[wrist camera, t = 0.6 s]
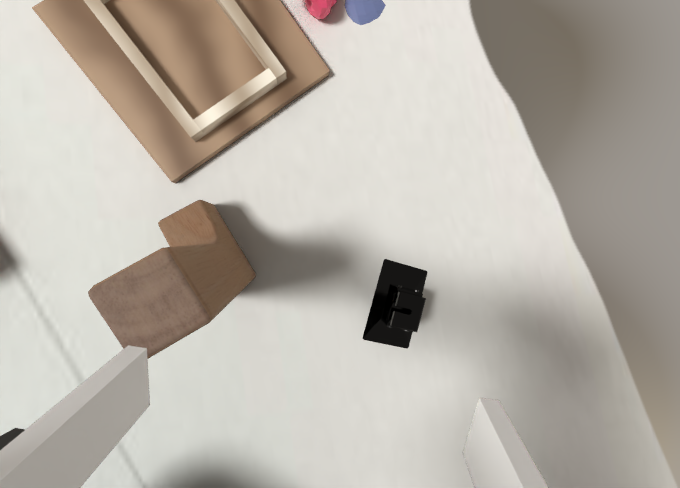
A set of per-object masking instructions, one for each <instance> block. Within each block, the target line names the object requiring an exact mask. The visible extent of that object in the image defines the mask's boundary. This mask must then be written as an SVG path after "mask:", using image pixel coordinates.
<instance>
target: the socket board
mask: <svg viewBox="0 0 680 488" xmlns="http://www.w3.org/2000/svg"><path fill="white" fill-rule="evenodd" d="M32 9H33V10H34V11H35V12H36V14H37V15H38V16H39V17H40V19H41V20H42V21H43V22H44V24H45V25H46V26H47V27H48V28H49V30H50V31H51V32H52V33H53V35H54V36H55V37H56V38H57V40H58V41H59V42H60V43H61V45H62V46H63V47H64V48H65V50H66V51H67V52H68V53H69V55H70V56H71V57H72V58H73V60H74V61H75V62H76V63H77V65H78V66H79V67H80V68H81V70H82V71H83V72H84V73H85V75H86V76H87V77H88V78H89V80H90V81H91V82H92V83H93V85H94V86H95V87H96V88H97V90H98V91H99V92H100V93H101V95H102V96H103V97H104V98H105V99H106V101H107V102H108V103H109V104H110V106H111V107H112V108H113V109H114V111H115V112H116V113H117V114H118V116H119V117H120V118H121V119H122V121H123V122H124V123H125V124H126V126H127V127H128V128H129V129H130V131H131V132H132V133H133V134H134V136H135V137H136V138H137V139H138V141H139V142H140V143H141V144H142V146H143V147H144V148H145V149H146V151H147V152H148V153H149V154H150V156H151V157H152V158H153V159H154V161H155V162H156V163H157V164H158V165H159V167H160V168H161V169H162V170H163V172H164V173H165V174H166V175H167V177H168V178H169V179H170V180H171V182H173V183H177V182H178V181H179V180H181V179H182V178H184V177H185V176H187V175H188V174H189V173H191V172H192V171H194V170H195V169H196V168H198V167H199V166H201V165H202V164H204V163H205V162H206V161H208V160H209V159H211V158H212V157H214V156H215V155H216V154H218V153H219V152H221V151H222V150H223V149H225V148H226V147H228V146H229V145H231V144H232V143H233V142H235V141H236V140H238V139H239V138H241V137H242V136H243V135H245V134H246V133H248V132H249V131H250V130H252V129H253V128H255V127H256V126H258V125H259V124H260V123H262V122H263V121H265V120H266V119H268V118H269V117H270V116H272V115H273V114H275V113H276V112H277V111H279V110H280V109H282V108H283V107H285V106H286V105H287V104H289V103H290V102H292V101H293V100H295V99H296V98H297V97H299V96H300V95H302V94H303V93H304V92H306V91H307V90H309V89H310V88H312V87H313V86H314V85H316V84H317V83H319V82H320V81H322V80H323V79H324V78H326V77H327V76H329V72H330V70H329V69H328V67H327V66H326V65H325V63H324V62H323V60H322V59H321V58H320V56H319V55H318V53H317V52H316V51H315V49H314V48H313V46H312V45H311V43H310V42H309V41H308V39H307V38H306V36H305V35H304V34H303V32H302V31H301V29H300V28H299V27H298V25H297V24H296V22H295V21H294V19H293V18H292V17H291V15H290V14H289V12H288V11H287V10H286V8H285V7H284V5H283V4H282V3H281V1H280V0H44V1H42V2H40V3H39V4H37V5H35V6H34V7H32Z"/></svg>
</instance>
